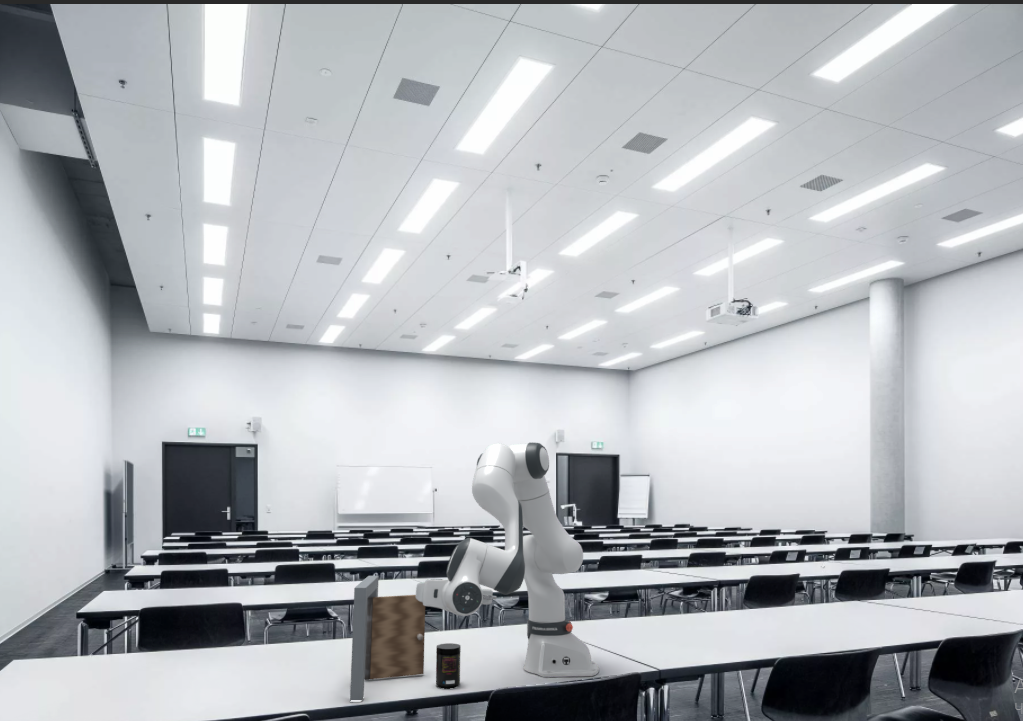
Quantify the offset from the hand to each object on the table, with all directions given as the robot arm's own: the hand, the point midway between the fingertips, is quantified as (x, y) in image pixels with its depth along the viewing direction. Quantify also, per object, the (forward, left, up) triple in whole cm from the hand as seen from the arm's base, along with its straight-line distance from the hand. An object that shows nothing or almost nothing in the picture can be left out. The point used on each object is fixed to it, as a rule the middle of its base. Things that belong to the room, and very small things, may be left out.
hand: (451, 593), depth 186 cm
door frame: (+24, -1, -26) cm, 35 cm away
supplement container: (+2, -7, -26) cm, 27 cm away
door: (+18, -11, -25) cm, 33 cm away
